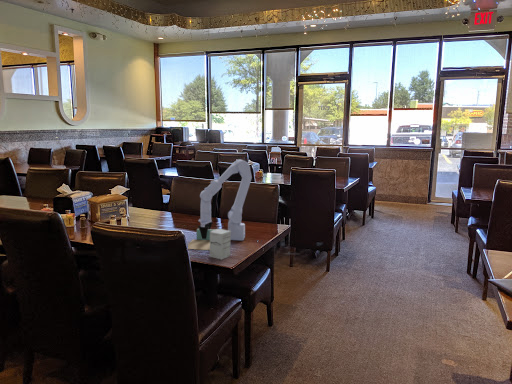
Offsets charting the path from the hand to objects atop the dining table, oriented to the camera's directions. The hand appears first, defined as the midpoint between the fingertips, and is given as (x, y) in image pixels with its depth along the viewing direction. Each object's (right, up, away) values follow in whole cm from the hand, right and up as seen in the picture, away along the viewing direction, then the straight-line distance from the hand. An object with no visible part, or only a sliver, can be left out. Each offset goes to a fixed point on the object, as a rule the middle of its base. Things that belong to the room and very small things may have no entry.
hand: (205, 236), depth 205 cm
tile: (0, -2, 0) cm, 2 cm away
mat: (0, -3, -9) cm, 10 cm away
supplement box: (+10, -7, -26) cm, 29 cm away
